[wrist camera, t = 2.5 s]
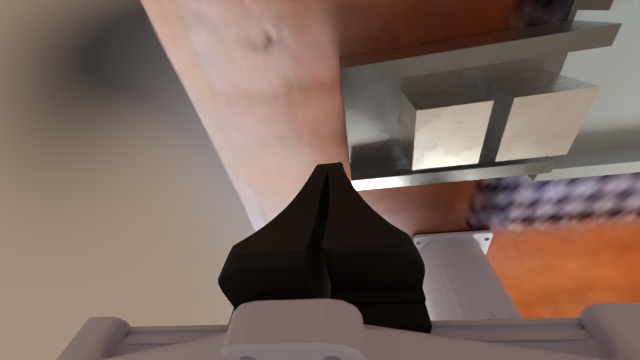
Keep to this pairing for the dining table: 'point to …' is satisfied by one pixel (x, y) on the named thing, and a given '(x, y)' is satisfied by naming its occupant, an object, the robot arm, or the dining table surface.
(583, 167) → the tray
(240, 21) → the dining table surface
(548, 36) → the rail
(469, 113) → the cream cube
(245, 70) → the dining table surface
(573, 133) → the beige cube
